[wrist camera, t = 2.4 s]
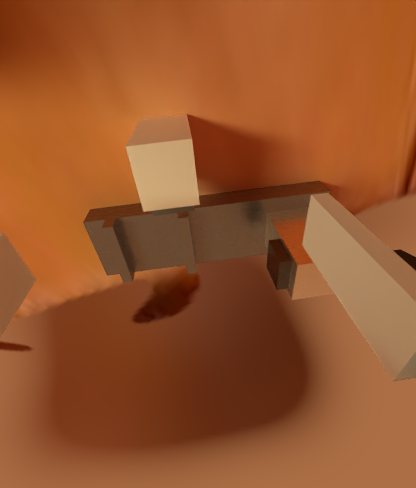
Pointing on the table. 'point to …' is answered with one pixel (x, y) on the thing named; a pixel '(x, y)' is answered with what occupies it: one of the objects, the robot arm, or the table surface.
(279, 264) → the rail
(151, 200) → the cream rectangular block
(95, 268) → the table surface
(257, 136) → the table surface
